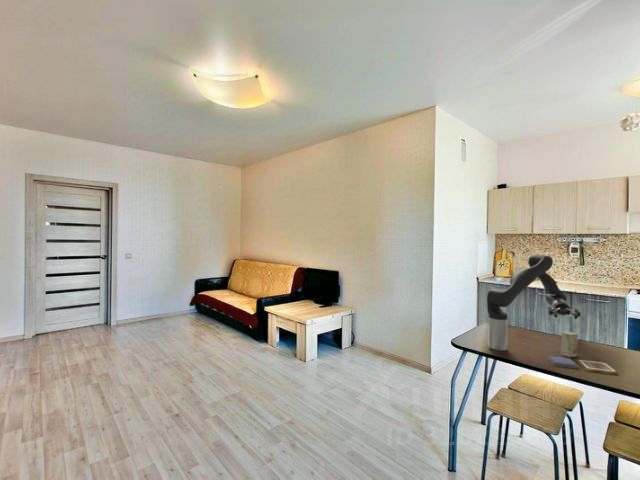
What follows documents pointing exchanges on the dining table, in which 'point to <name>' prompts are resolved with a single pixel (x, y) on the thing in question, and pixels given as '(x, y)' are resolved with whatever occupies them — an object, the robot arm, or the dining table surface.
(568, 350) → the skincare box
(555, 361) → the ink pad
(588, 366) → the marked board
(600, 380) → the dining table surface
